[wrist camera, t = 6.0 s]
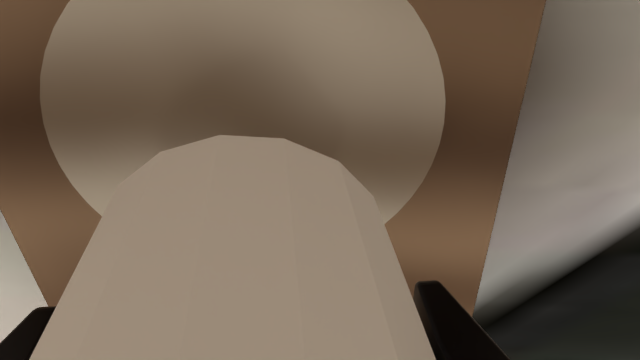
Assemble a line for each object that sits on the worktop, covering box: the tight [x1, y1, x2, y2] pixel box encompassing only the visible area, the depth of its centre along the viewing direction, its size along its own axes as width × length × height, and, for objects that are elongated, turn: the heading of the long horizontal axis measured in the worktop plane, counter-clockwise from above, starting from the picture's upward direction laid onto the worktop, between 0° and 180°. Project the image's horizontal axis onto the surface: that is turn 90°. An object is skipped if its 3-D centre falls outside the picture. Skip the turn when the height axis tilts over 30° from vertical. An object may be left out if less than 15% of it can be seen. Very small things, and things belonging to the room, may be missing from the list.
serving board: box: [0, 0, 546, 317], centre depth 15 cm, size 20×14×1 cm
